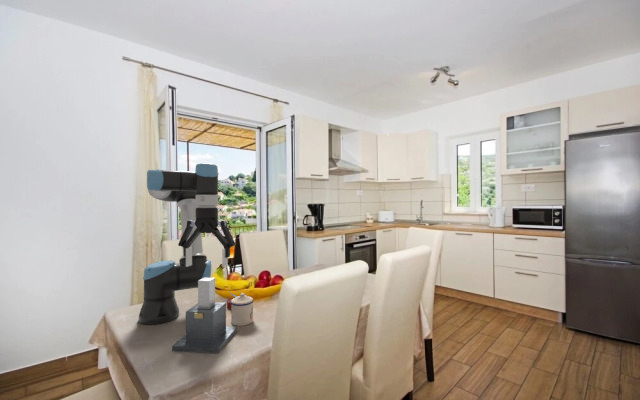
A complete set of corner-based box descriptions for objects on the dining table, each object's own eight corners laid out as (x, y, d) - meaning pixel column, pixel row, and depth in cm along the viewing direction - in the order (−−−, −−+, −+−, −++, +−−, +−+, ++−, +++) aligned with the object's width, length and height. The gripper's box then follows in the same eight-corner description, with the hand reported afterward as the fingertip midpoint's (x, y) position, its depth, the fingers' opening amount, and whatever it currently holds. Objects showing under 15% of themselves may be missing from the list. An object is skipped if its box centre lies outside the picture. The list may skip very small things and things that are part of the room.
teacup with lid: (255, 323, 118) (255, 295, 118) (232, 328, 114) (232, 298, 114) (249, 313, 129) (249, 287, 129) (228, 316, 125) (228, 289, 125)
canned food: (236, 311, 143) (242, 291, 147) (250, 314, 137) (256, 292, 141) (218, 307, 135) (225, 285, 139) (232, 309, 129) (239, 286, 133)
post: (197, 337, 102) (197, 280, 102) (203, 331, 106) (203, 277, 106) (209, 338, 102) (209, 281, 102) (215, 332, 106) (215, 277, 106)
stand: (172, 350, 97) (172, 314, 97) (197, 329, 113) (197, 298, 113) (217, 353, 95) (217, 317, 95) (236, 331, 111) (236, 300, 111)
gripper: (167, 207, 101) (167, 267, 101) (236, 207, 99) (236, 269, 99) (180, 206, 109) (180, 263, 109) (244, 206, 106) (244, 264, 106)
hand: (206, 266), depth 104 cm, fingers open, 13 cm apart
